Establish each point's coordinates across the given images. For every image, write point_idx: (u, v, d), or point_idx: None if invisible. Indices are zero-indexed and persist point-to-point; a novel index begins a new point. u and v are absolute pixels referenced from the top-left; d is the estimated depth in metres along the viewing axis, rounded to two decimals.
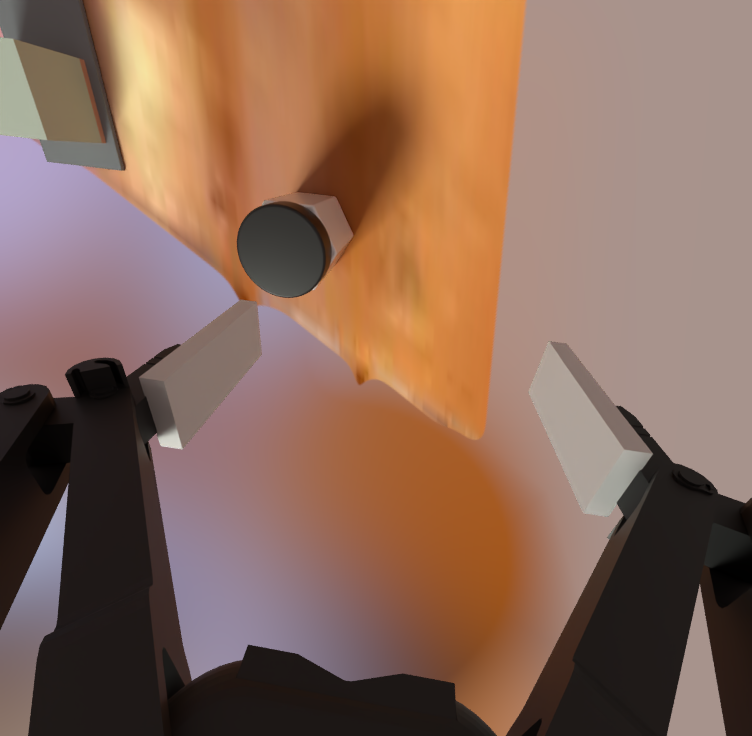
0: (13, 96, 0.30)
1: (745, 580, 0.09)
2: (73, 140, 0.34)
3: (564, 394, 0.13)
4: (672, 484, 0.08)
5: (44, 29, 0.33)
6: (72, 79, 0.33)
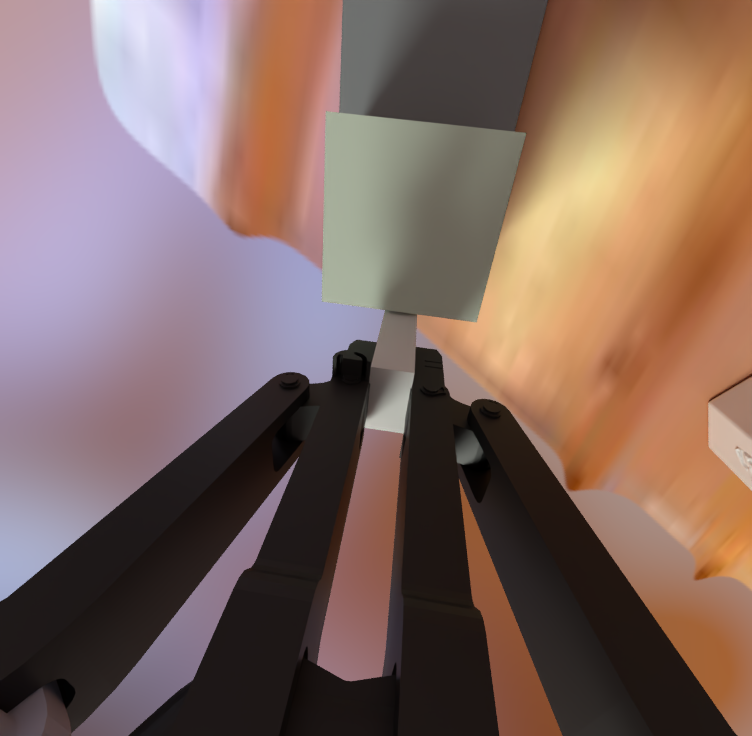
0: (448, 244, 0.14)
1: (485, 468, 0.11)
2: None
3: None
4: (422, 398, 0.11)
5: (432, 91, 0.17)
6: None
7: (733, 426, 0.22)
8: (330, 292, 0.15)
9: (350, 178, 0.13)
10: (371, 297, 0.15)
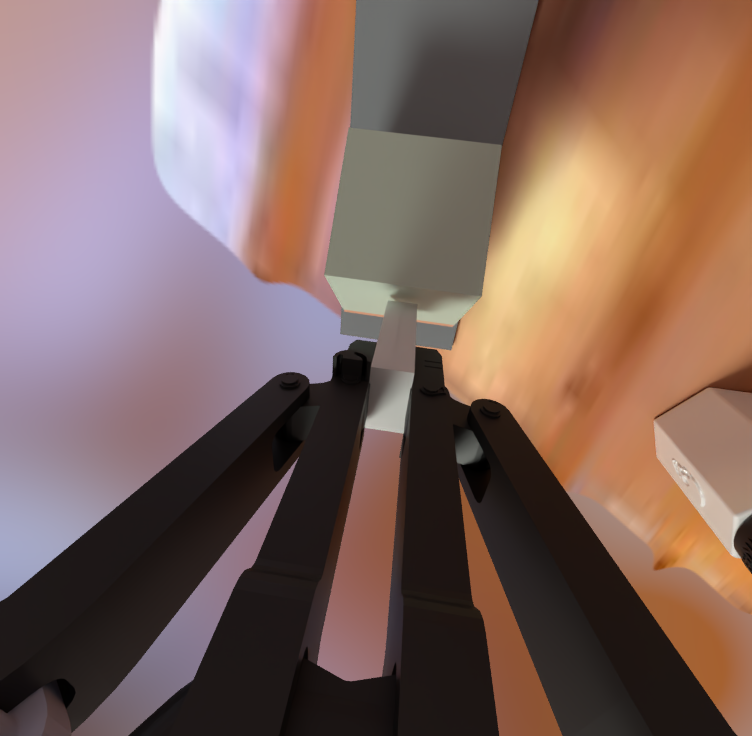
0: (448, 222, 0.15)
1: (485, 468, 0.11)
2: None
3: None
4: (422, 398, 0.11)
5: None
6: None
7: (670, 441, 0.27)
8: (334, 265, 0.15)
9: (363, 171, 0.16)
10: (375, 270, 0.15)
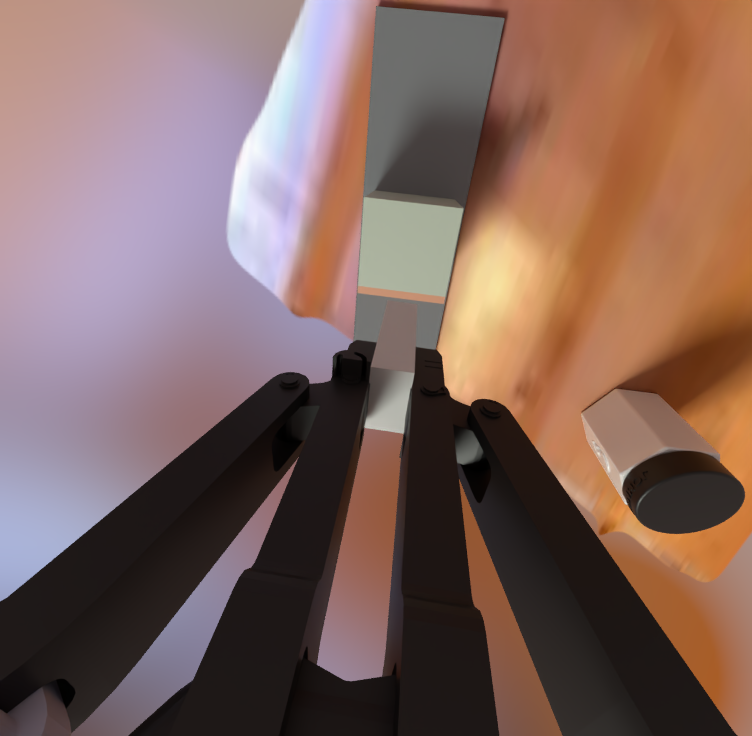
0: (434, 201, 0.27)
1: (484, 468, 0.11)
2: (454, 250, 0.25)
3: None
4: (422, 398, 0.11)
5: None
6: None
7: (589, 427, 0.38)
8: (370, 197, 0.25)
9: (384, 193, 0.28)
10: (395, 200, 0.25)
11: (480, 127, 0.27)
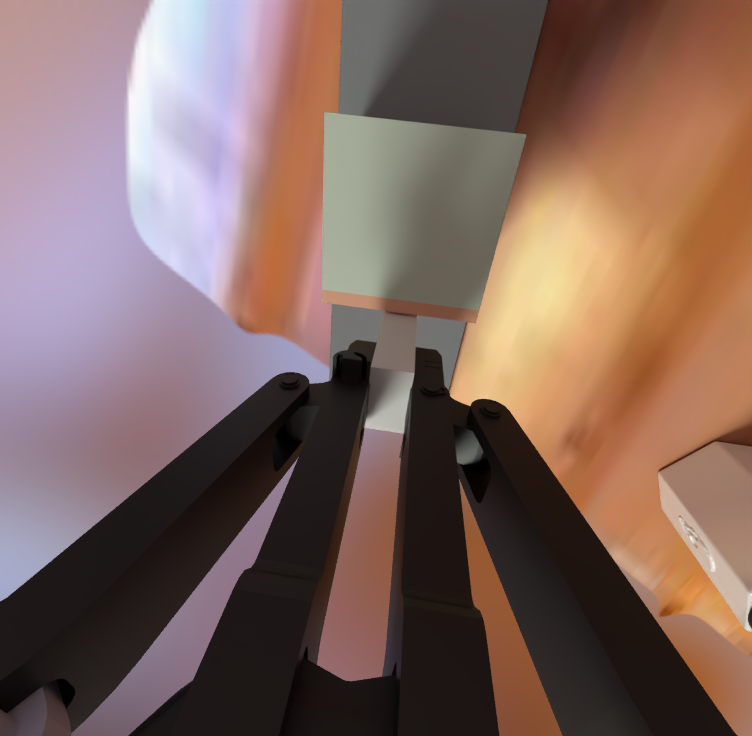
0: None
1: (485, 468, 0.11)
2: (501, 223, 0.13)
3: None
4: (422, 398, 0.11)
5: None
6: None
7: (676, 498, 0.26)
8: None
9: None
10: None
11: (545, 2, 0.15)
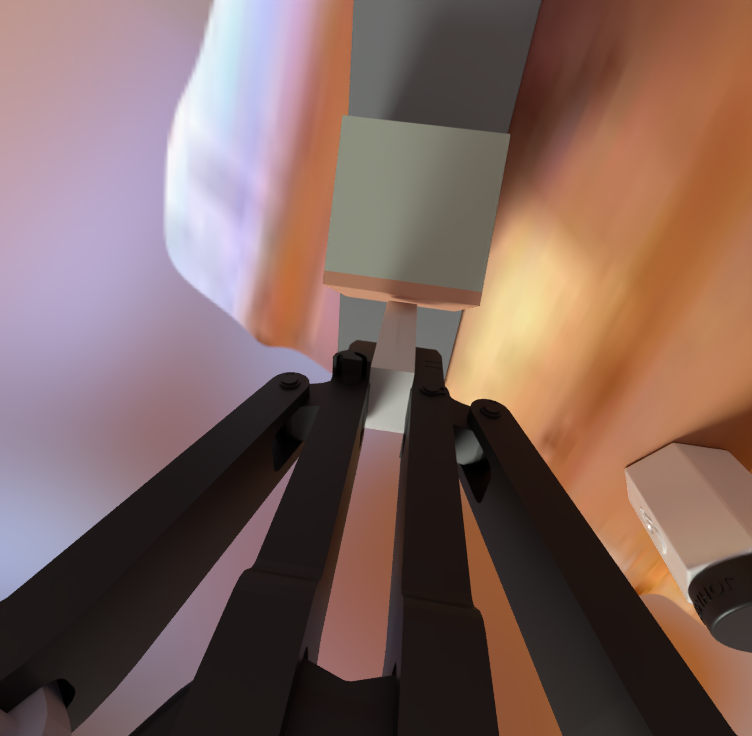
0: None
1: (485, 468, 0.11)
2: (496, 207, 0.15)
3: None
4: (422, 398, 0.11)
5: None
6: None
7: (637, 491, 0.30)
8: None
9: None
10: None
11: (516, 89, 0.18)
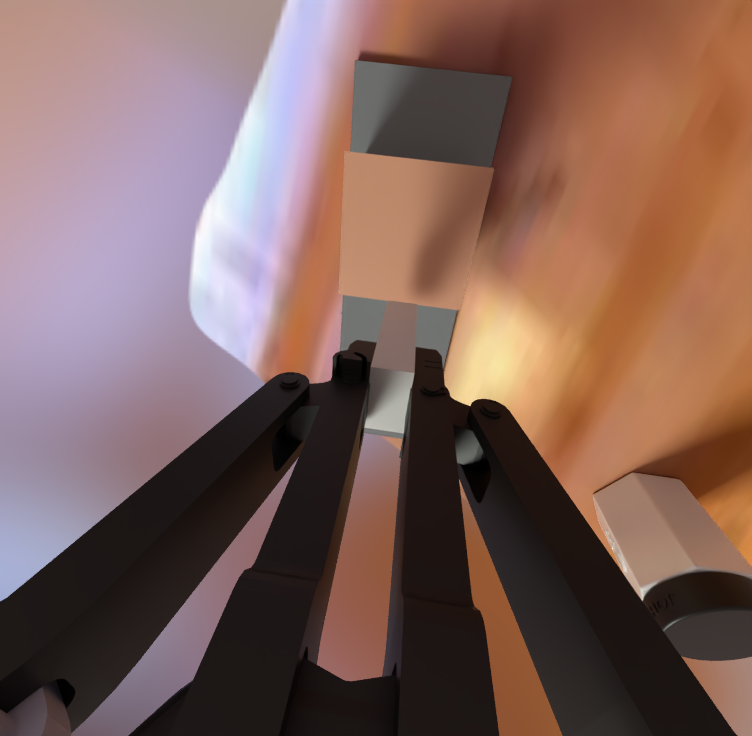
0: None
1: (485, 468, 0.11)
2: None
3: None
4: (422, 398, 0.11)
5: None
6: None
7: (602, 516, 0.34)
8: None
9: None
10: None
11: None
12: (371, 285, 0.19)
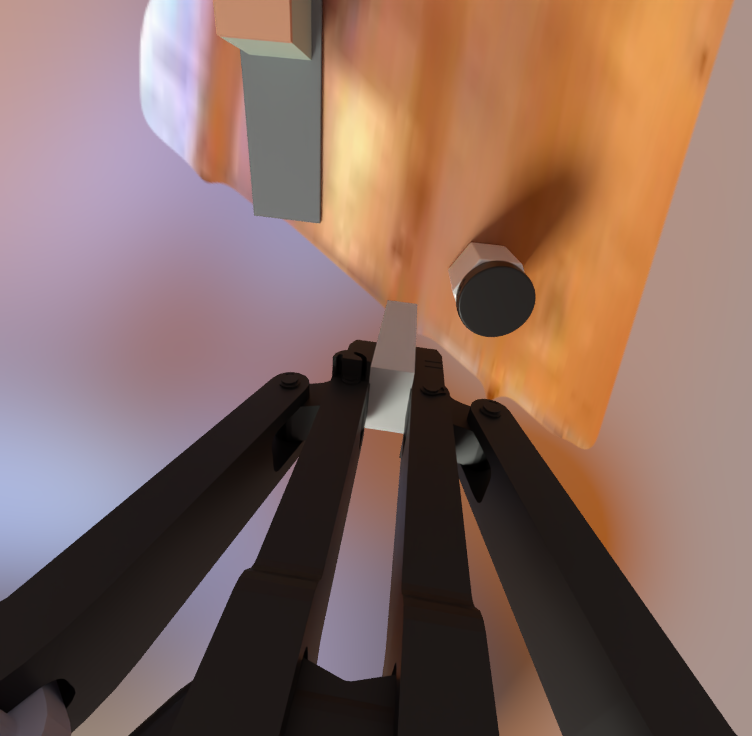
0: None
1: (485, 468, 0.11)
2: None
3: None
4: (422, 398, 0.11)
5: (283, 114, 0.40)
6: (297, 21, 0.32)
7: (449, 275, 0.46)
8: None
9: None
10: None
11: None
12: (234, 25, 0.31)
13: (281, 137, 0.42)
